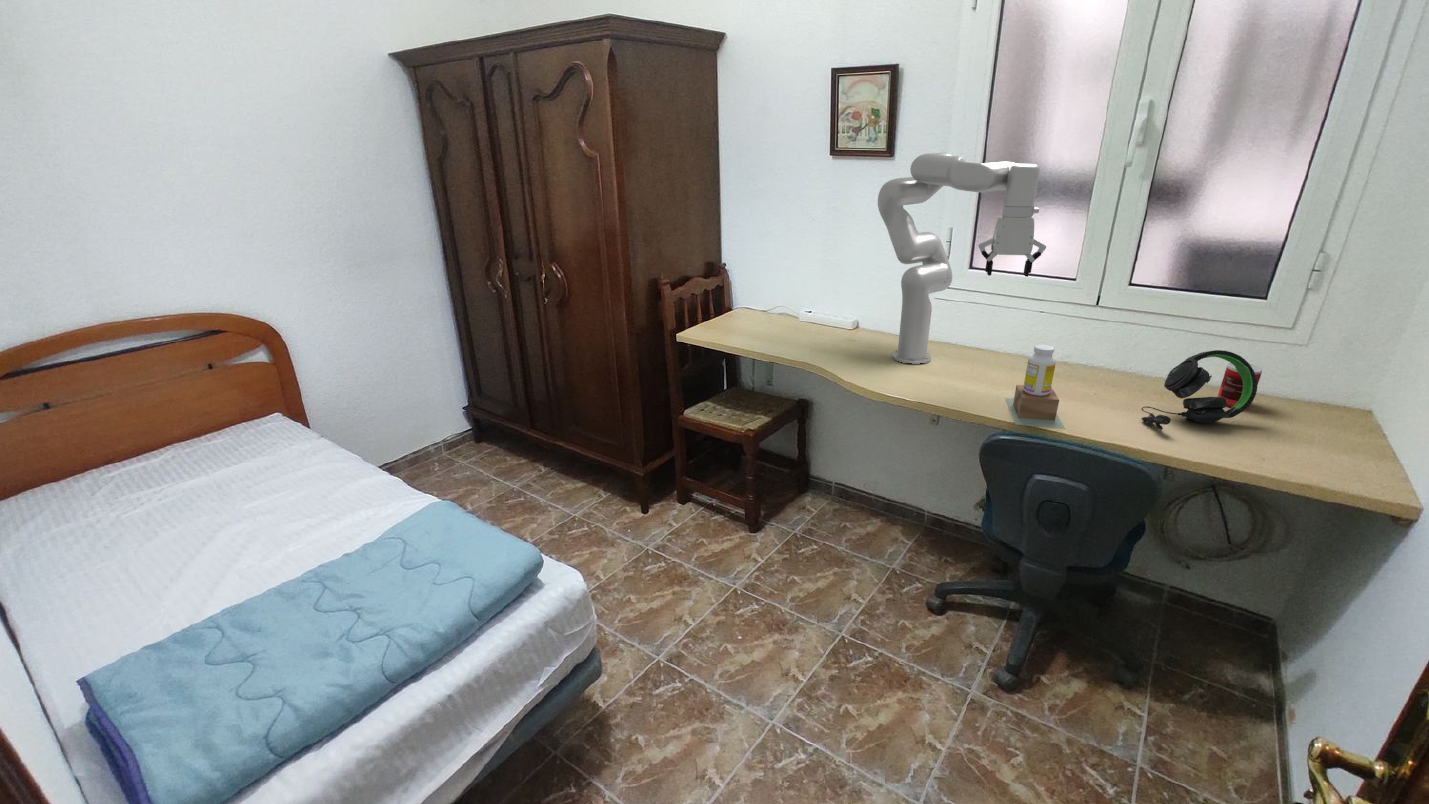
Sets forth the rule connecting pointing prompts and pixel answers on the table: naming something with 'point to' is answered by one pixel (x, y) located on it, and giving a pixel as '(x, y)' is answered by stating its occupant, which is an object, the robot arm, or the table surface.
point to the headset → (1192, 378)
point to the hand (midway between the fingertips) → (1007, 275)
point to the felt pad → (1032, 422)
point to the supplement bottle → (1040, 371)
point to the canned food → (1234, 384)
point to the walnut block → (1035, 405)
